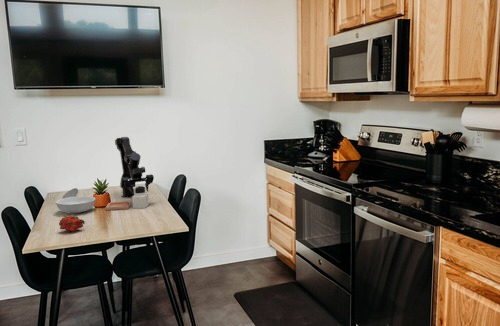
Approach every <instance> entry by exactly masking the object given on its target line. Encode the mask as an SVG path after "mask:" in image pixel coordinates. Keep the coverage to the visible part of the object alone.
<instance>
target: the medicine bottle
mask: <svg viewBox="0 0 500 326" xmlns="http://www.w3.org/2000/svg"><path fill="white" fill-rule="evenodd" d="M133 189H134V196H132V197H131V198H132V201H131V203H132V208H133V209H146V208H147V207H148V206H149V205H150V204H149V194H148V193H146V186H135V187H133Z"/></svg>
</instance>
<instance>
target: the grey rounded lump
mask: <svg viewBox="0 0 500 326" xmlns="http://www.w3.org/2000/svg"><path fill="white" fill-rule="evenodd" d="M78 193H79V190H78V188H77V187H75V188H72V189H70V190H68V191H67V192H65V194H63V196H62V198H61V199H64V198H68V197H76V196H78Z"/></svg>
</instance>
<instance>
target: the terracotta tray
mask: <svg viewBox="0 0 500 326" xmlns="http://www.w3.org/2000/svg"><path fill="white" fill-rule="evenodd" d="M109 202H110V201H109ZM109 202H108V203H107V205H106V206H105V211H106V212H110V211H111V210H112V211H125V210H128V211H129V208H130V207H131V205H132V201H131V200H128V201H125V200H123V201H111V202H110V203H109Z"/></svg>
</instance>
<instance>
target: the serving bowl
mask: <svg viewBox="0 0 500 326" xmlns="http://www.w3.org/2000/svg"><path fill="white" fill-rule="evenodd" d="M55 204H56V207H57V208H58V210H60V212H62V213H66V214H81V213H84V212H87V211H90V210H91V209H92V208H93V207H94V206H95V205H96V197H94V196H89V195H79V196H78V195H76V197H68V198H64V199H62V198H60V199H58V200H56V201H55Z"/></svg>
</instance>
